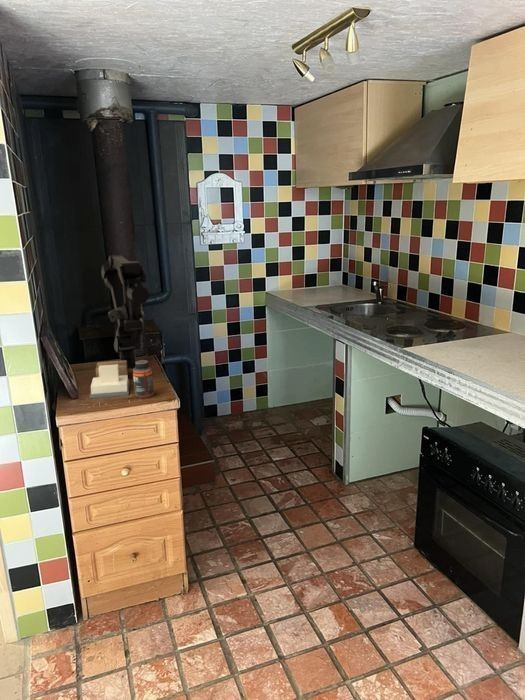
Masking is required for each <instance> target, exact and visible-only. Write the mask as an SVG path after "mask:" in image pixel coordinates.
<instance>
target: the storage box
mask: <svg viewBox="0 0 525 700" xmlns="http://www.w3.org/2000/svg"><path fill="white" fill-rule="evenodd" d="M115 364H118V370H119V376H122V375H129V374H128V368H127V360H124V361H120V360H112V361H111V360H109V361H98V362H97V363H96V366H95V376H96V377H99V370H98V368H99V366H100V365H115Z"/></svg>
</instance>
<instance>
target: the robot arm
mask: <svg viewBox="0 0 525 700" xmlns="http://www.w3.org/2000/svg"><path fill="white" fill-rule="evenodd" d="M100 271H101V272H100V273H101V278H102V280H104V285H105V286H106V287H107V288H109V290H110V293H111V298H112V302H113V307H114V309H111V310H110V311H108V312H107V315H108V319H109V320H110V322H111V323H114V322H116V321H117V329H116V332H115V337H114V342H113V347H114V350H115V352H116V353H119V361H124V360H127V369H128V368H135V367H136V366H135V362H136V361H137V358H136V350H141V349H140V348H141V339H142V338H141V337H142V333H143V331H144V318H145V313H144V311H143V307H142V305H143V304H145V303H147V302H148V299H149V296H150V293H149V290H148V289H147V288H146V287H144V286H143V284H145V283H147V276H146V275H147V274H146V271H145V269H144V268H143V264H141V263H140V262H139V261H130V260H128V259H127V258H125V256H124V255H122V254H112V255H111V254H110V255H109V256H108V259H107V260H106V261H105V262H104V263H103V264H102V266H101V270H100Z"/></svg>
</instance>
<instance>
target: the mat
mask: <svg viewBox="0 0 525 700" xmlns="http://www.w3.org/2000/svg"><path fill="white" fill-rule="evenodd" d="M130 383H131V380H130V379H128V389H127V391H124V392H112V393H99V394H91V392H90V393H89V399H90V400H91V399H101V398H103V399H105V398H113V397H116V398H117V397H126V396H127V397H128V396H130V395H129V393H130Z"/></svg>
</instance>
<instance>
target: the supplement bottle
mask: <svg viewBox="0 0 525 700" xmlns="http://www.w3.org/2000/svg"><path fill="white" fill-rule="evenodd" d="M135 366H136V367H133V369H132V378H133V387H134V396H135V397H136V398H139V399H147V398H151V397H152V396H153V395H155V394H154V393H155V392H154V379H153V378H154V377H153V370H152V368H151V367H150V366H149V361H148V360H145V359H141V360H136V362H135Z"/></svg>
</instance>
